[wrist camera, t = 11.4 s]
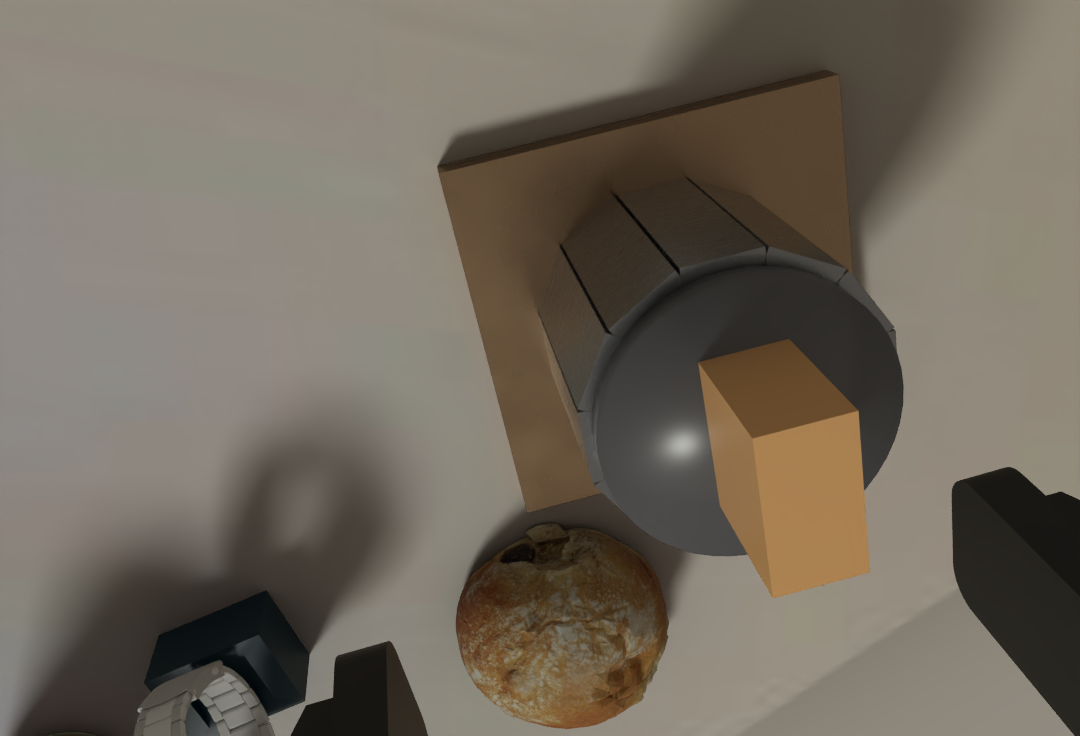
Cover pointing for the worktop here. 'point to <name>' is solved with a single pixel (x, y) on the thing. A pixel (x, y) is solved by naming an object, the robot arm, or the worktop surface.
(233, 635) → the watch
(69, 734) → the soda can
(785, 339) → the cap
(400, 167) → the worktop surface
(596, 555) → the bread roll
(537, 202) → the gray cylinder on base
